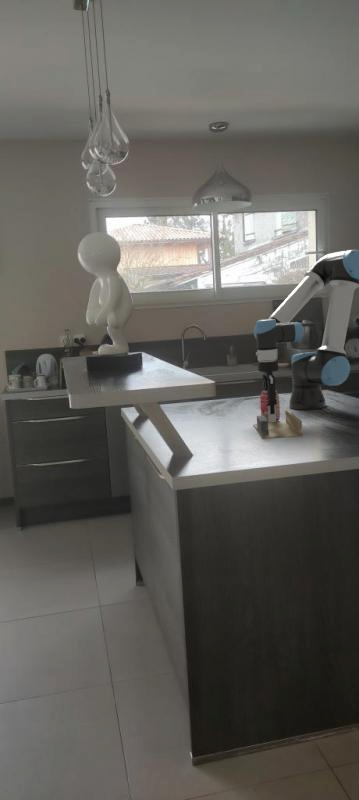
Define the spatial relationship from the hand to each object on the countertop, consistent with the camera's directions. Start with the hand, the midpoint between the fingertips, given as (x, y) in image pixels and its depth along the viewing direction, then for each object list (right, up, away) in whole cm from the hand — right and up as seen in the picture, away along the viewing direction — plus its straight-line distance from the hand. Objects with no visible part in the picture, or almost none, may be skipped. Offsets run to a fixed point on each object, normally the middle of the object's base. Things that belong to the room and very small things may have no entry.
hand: (270, 420), depth 222 cm
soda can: (0, -1, 0) cm, 1 cm away
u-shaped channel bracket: (0, -3, -16) cm, 16 cm away
